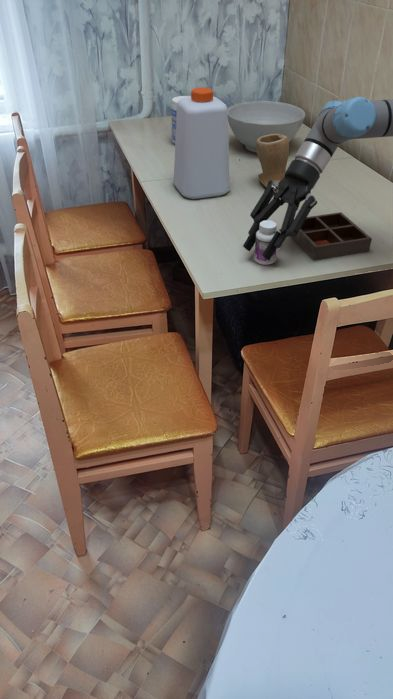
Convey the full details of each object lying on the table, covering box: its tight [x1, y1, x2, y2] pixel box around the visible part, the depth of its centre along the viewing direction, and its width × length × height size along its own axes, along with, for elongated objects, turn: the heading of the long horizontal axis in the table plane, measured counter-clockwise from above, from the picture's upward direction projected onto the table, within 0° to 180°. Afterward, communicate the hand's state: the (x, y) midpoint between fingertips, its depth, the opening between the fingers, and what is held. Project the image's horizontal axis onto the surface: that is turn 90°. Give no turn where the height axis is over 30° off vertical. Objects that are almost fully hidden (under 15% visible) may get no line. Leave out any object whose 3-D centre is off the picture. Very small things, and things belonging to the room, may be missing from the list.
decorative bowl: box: [227, 100, 306, 154], centre depth 189 cm, size 27×27×12 cm
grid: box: [291, 211, 372, 261], centre depth 139 cm, size 15×15×4 cm
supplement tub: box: [171, 95, 191, 145], centre depth 192 cm, size 10×10×15 cm
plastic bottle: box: [173, 87, 231, 200], centre depth 156 cm, size 15×15×28 cm
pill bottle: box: [253, 219, 278, 266], centre depth 129 cm, size 5×5×10 cm
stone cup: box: [256, 134, 290, 194], centre depth 162 cm, size 15×12×15 cm
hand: (256, 253), depth 128 cm, fingers closed on pill bottle, 5 cm apart
